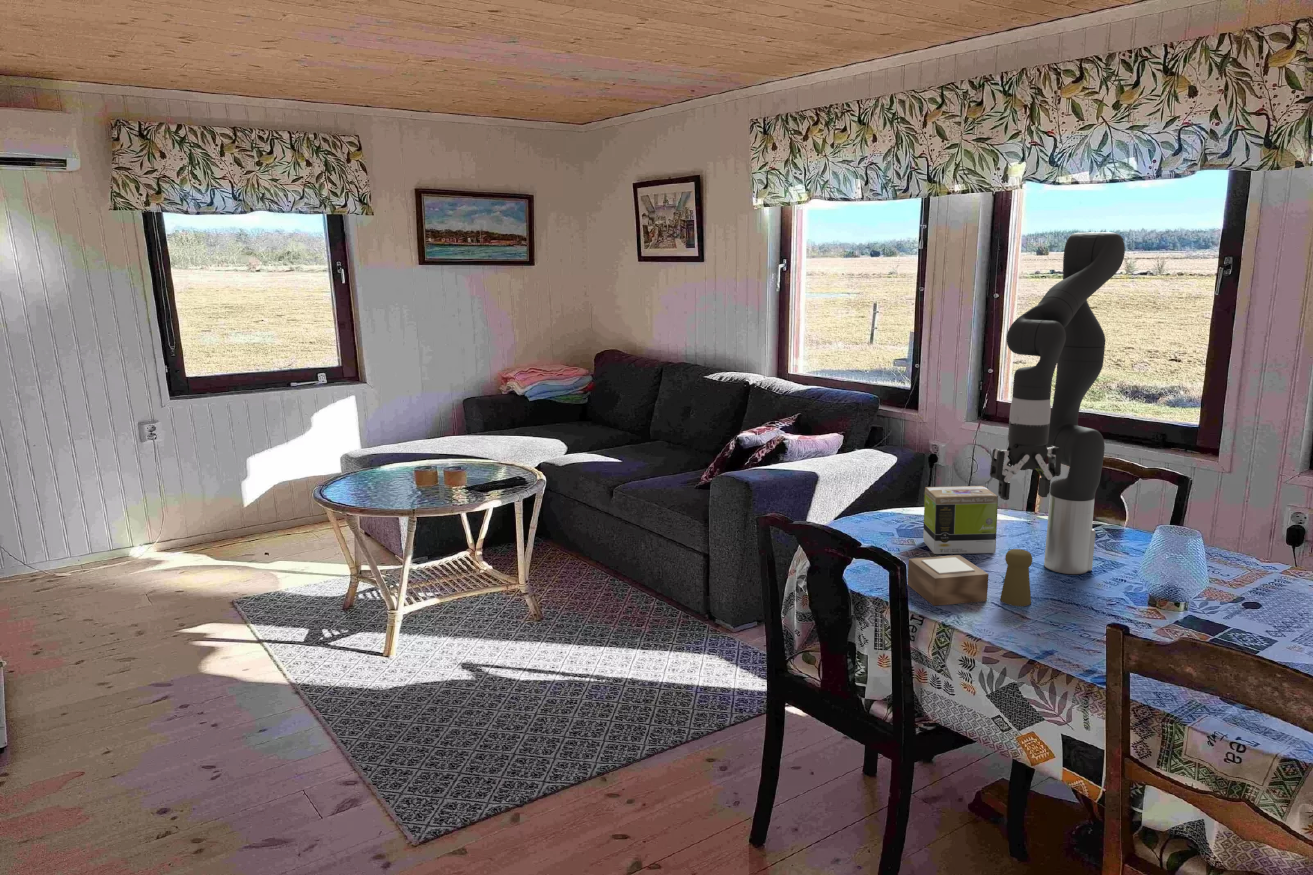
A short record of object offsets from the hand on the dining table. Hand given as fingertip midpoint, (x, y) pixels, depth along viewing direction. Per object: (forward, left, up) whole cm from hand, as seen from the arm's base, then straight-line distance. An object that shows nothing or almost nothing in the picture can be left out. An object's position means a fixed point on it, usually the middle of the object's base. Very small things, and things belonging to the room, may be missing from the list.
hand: (1023, 497), depth 179 cm
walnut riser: (+12, -7, -22) cm, 26 cm away
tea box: (-5, -33, -23) cm, 40 cm away
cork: (0, 0, -23) cm, 23 cm away
